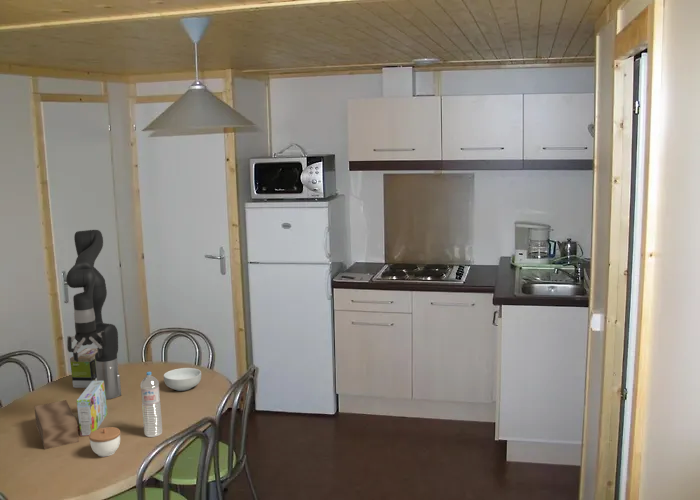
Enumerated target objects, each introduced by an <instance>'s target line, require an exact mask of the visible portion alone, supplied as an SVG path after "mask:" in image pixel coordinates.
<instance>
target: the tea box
mask: <svg viewBox="0 0 700 500" xmlns="http://www.w3.org/2000/svg"><path fill="white" fill-rule="evenodd" d="M97 348H98V347H97ZM97 348H90V347H89V348H88V347H87V348H84V349H83V350H81V351H79V352H77V353H78V362H76V361H75V360H74V358H73V356H71V357H69V362H70V363H69V364H70V371H71V381H72V387H73V388H74V389H75V388H77V389H86V388H87V387H88V386H89V384H90V383H91V382H92V381H97V374H96V362H95V354H96V353H97V352H98V349H97Z"/></svg>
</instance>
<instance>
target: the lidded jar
mask: <svg viewBox="0 0 700 500" xmlns="http://www.w3.org/2000/svg"><path fill="white" fill-rule="evenodd" d="M88 438H89V445H90V447H91V450H92V451H93V453H95V454H96V455H97V456H98V457H101V458H103V457H104V458H105V457H110V456H113V455H114V454H115V453H116V451H117V450H118V449H119V447H120V443H121V430H120V429H119V428H118V427H112V426H111V427H109V426H107V427H101V428H98V429H97V430H95V431H93V432H91V433H90V435H89V436H88Z"/></svg>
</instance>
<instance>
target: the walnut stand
mask: <svg viewBox="0 0 700 500" xmlns="http://www.w3.org/2000/svg"><path fill="white" fill-rule="evenodd" d="M34 415H35V425H36V428H37V431H38V434H39V437H40V440H41V443H42V446H43V449H44V450H47V449H51V448H56V447H60V446H65V445H69V444H74V443H79V442H80V440H79V431H78V430H79V429H78V422H77V419H76V417H75V415H74V413H73V411H72V409H71V407H70V405H69V403H68V401H67V399H65V400H59V401H55V402H50V403H45V404H40V405H35V406H34Z"/></svg>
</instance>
